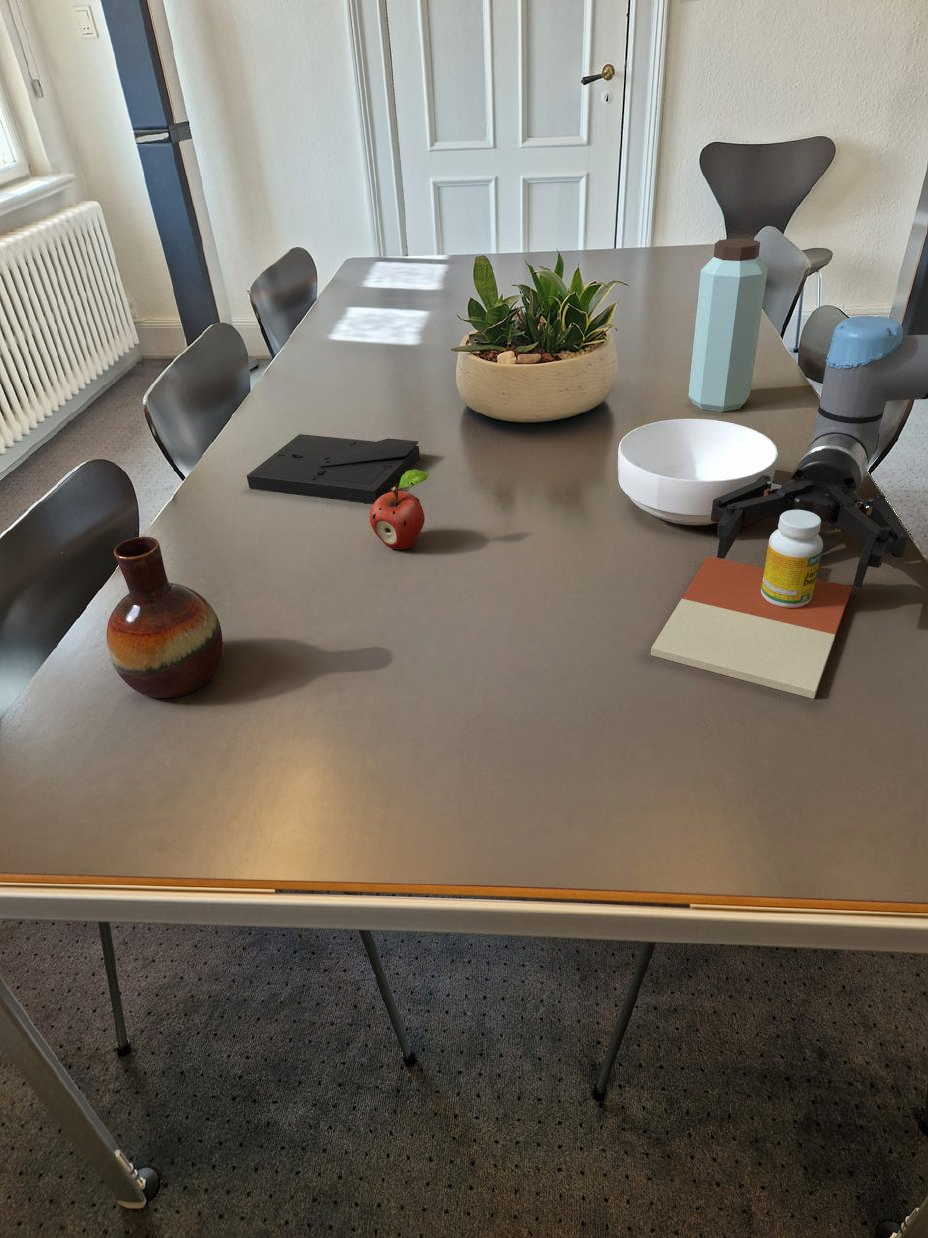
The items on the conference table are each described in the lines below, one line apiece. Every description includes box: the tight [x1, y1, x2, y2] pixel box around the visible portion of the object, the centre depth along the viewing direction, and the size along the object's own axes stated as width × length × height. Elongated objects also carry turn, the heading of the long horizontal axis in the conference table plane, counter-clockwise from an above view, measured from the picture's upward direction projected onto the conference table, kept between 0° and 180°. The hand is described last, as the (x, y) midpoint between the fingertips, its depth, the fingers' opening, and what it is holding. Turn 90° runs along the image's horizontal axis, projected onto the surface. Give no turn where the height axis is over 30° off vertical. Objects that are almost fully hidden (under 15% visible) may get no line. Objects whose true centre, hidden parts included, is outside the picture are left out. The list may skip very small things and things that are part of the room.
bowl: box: [617, 418, 779, 526], centre depth 110 cm, size 20×20×8 cm
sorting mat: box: [650, 555, 853, 700], centre depth 90 cm, size 16×20×1 cm
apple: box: [368, 468, 430, 550], centre depth 106 cm, size 8×7×10 cm
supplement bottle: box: [761, 510, 824, 608], centre depth 90 cm, size 5×5×10 cm
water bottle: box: [688, 237, 769, 413], centre depth 135 cm, size 10×10×25 cm
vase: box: [105, 536, 224, 699], centre depth 84 cm, size 11×11×15 cm
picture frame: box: [246, 433, 421, 505], centre depth 127 cm, size 16×3×21 cm
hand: (788, 560), depth 87 cm, fingers open, 13 cm apart
